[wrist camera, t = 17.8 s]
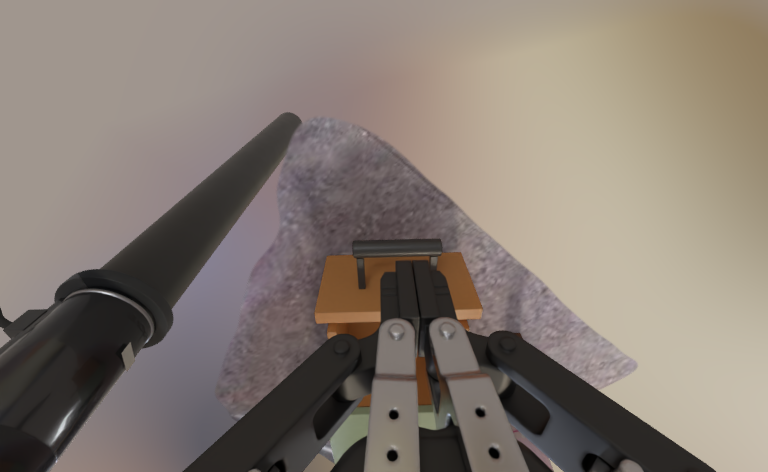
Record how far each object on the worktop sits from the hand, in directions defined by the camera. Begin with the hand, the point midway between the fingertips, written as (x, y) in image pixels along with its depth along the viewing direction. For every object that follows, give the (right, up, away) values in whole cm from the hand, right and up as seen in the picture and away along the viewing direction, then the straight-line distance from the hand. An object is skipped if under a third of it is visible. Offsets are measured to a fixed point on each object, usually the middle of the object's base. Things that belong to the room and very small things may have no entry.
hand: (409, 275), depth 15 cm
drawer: (0, -4, +20) cm, 20 cm away
